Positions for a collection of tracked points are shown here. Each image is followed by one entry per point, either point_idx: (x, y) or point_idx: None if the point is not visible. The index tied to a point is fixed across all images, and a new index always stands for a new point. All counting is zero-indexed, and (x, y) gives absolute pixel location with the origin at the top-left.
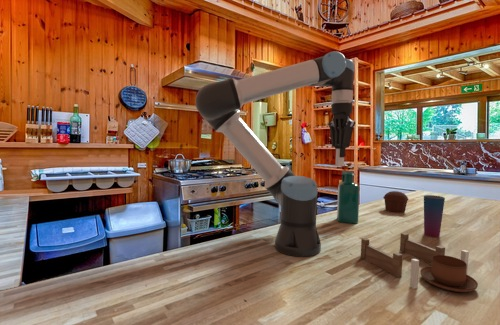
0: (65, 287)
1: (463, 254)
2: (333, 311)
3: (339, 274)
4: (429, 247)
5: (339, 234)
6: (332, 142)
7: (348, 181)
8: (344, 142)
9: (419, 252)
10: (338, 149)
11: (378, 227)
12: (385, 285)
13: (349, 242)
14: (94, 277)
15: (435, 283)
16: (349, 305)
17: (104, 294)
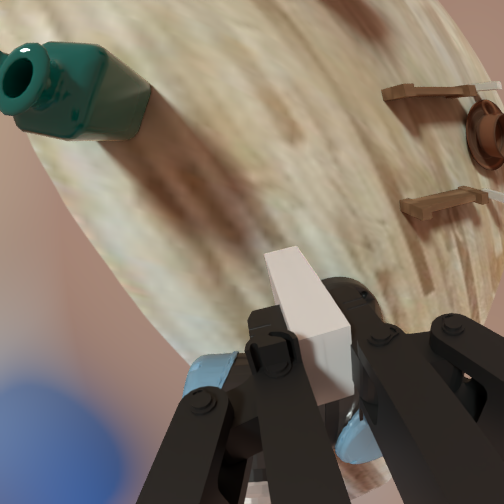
0: (357, 485)
1: (496, 89)
2: (481, 310)
3: (437, 278)
4: (450, 88)
5: (254, 187)
6: (224, 487)
7: (58, 91)
8: (476, 405)
9: (428, 95)
10: (350, 390)
11: (197, 36)
12: (473, 227)
13: (319, 189)
14: (346, 482)
15: (496, 168)
16: (482, 292)
17: (379, 466)
